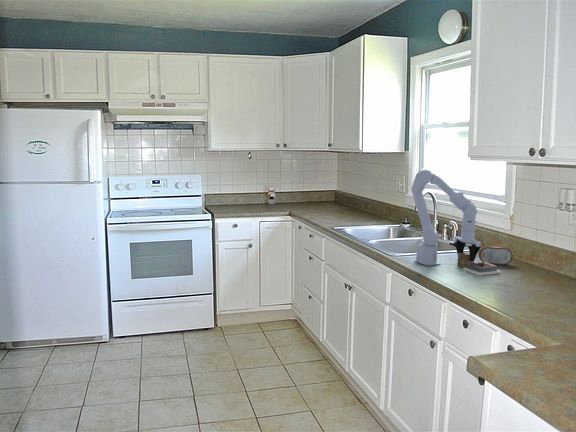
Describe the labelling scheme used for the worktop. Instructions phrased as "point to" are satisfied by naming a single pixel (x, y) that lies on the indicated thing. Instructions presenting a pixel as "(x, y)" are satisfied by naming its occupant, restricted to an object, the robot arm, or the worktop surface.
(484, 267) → the grey tray
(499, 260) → the tin
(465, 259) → the plug block
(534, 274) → the worktop surface
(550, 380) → the worktop surface
